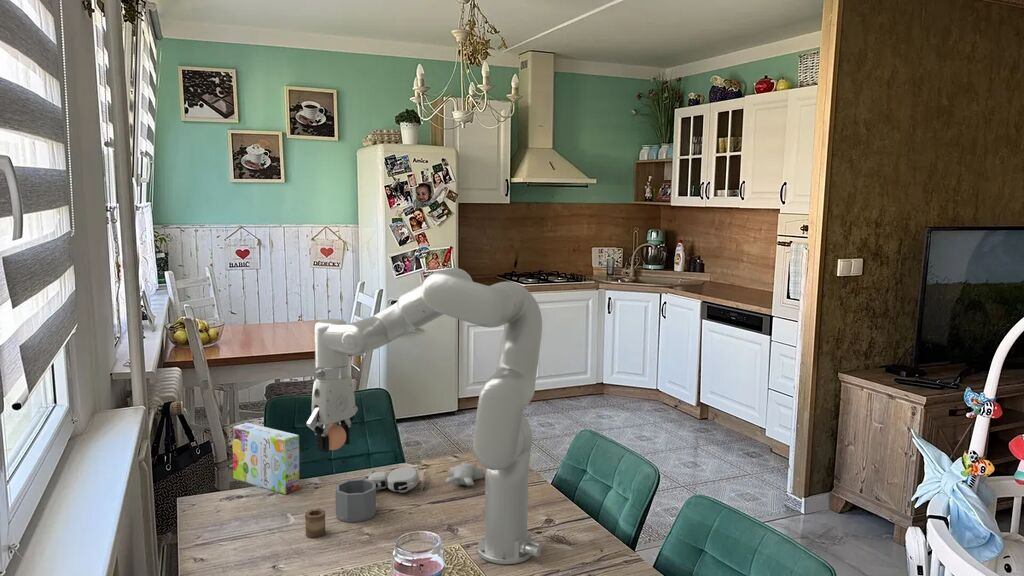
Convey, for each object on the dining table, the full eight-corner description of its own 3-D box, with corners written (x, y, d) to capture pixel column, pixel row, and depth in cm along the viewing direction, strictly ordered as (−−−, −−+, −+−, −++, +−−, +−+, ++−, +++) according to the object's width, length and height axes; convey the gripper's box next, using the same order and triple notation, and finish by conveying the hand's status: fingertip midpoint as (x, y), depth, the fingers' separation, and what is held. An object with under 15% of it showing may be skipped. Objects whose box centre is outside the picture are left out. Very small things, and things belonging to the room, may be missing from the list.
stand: (329, 532, 166) (329, 512, 165) (314, 539, 162) (314, 518, 161) (316, 527, 168) (316, 507, 167) (301, 534, 164) (301, 514, 164)
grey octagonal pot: (383, 511, 177) (383, 484, 176) (356, 526, 169) (355, 497, 168) (356, 502, 182) (355, 476, 182) (327, 516, 174) (327, 488, 174)
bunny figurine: (486, 461, 203) (476, 474, 188) (485, 478, 203) (475, 493, 188) (454, 458, 204) (441, 471, 189) (453, 476, 204) (441, 491, 189)
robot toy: (359, 500, 186) (416, 497, 186) (358, 484, 186) (415, 480, 186) (367, 482, 198) (421, 479, 198) (366, 467, 198) (420, 463, 198)
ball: (351, 447, 169) (351, 423, 168) (333, 455, 163) (332, 430, 163) (333, 443, 172) (333, 419, 171) (314, 450, 167) (314, 425, 166)
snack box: (301, 488, 191) (300, 434, 189) (285, 495, 186) (283, 440, 185) (248, 472, 202) (246, 421, 200) (231, 479, 197) (230, 426, 195)
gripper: (315, 382, 156) (317, 461, 158) (369, 367, 171) (370, 440, 173) (292, 377, 160) (294, 455, 162) (346, 363, 175) (347, 434, 177)
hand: (333, 446), depth 168 cm, fingers closed on ball, 6 cm apart
